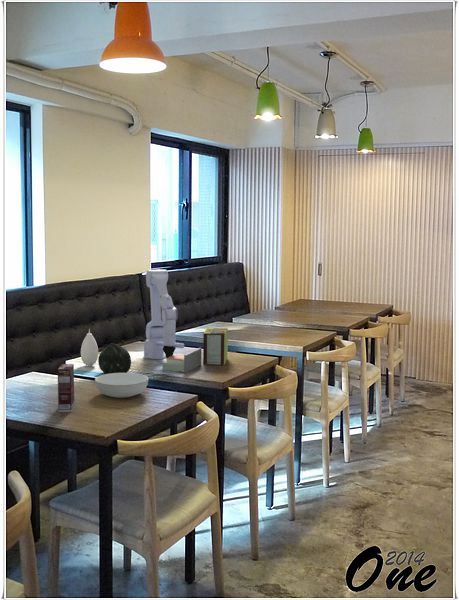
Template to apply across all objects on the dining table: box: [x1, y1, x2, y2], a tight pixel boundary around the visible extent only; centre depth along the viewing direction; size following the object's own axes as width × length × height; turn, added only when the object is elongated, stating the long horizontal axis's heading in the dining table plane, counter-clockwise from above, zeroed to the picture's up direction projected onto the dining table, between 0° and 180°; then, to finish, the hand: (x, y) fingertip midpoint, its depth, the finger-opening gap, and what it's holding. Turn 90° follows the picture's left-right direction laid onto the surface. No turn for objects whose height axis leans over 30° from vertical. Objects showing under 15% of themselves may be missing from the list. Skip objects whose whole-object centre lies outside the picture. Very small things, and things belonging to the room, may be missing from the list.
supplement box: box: [57, 363, 76, 413], centre depth 240 cm, size 9×5×16 cm, turn 5°
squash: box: [97, 342, 132, 375], centre depth 295 cm, size 14×15×15 cm
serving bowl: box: [94, 372, 149, 399], centre depth 261 cm, size 21×21×7 cm
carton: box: [165, 352, 186, 365], centre depth 311 cm, size 10×12×5 cm
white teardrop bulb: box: [80, 328, 99, 368], centre depth 308 cm, size 8×8×18 cm
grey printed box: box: [161, 347, 203, 373], centre depth 310 cm, size 12×18×8 cm
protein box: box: [202, 327, 229, 366], centre depth 323 cm, size 10×15×16 cm
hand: (169, 361), depth 313 cm, fingers closed
